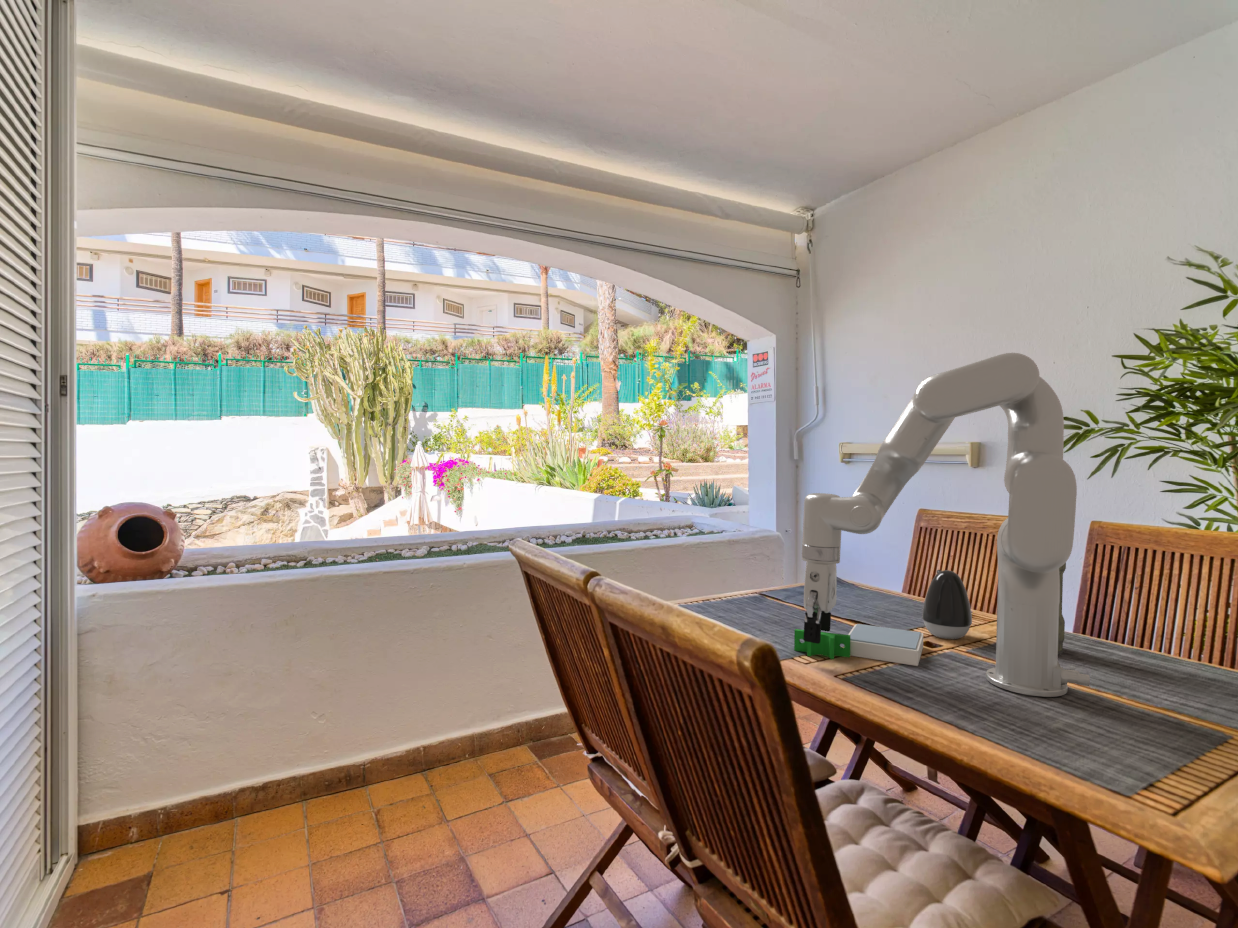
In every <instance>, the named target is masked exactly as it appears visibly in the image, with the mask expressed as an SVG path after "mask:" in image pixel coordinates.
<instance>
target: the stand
mask: <svg viewBox="0 0 1238 928" xmlns="http://www.w3.org/2000/svg"><path fill="white" fill-rule="evenodd" d="M847 635H850V657H851V656H852V657H857V658H858V657H859V658H863V659H870V660H877V661H882V662H883V661H884V662H889V663H896V664H904V665H909V666H914V667H918V666H919V664H920V663H919V662H920V660H921V656H922V652H923V649H924V633H923V632H921V631H914V630H908V629H907V630H906V629H900V628H899V629H898V628H893V627H884V626H877V625H869V624H864V623H863V624H862V623H857V624H856V623H855V624H854V625H853V627H852V628H851V630H850V631H849V632H848V634H847ZM844 647H845V645H844V644H843V648H844Z"/></svg>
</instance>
